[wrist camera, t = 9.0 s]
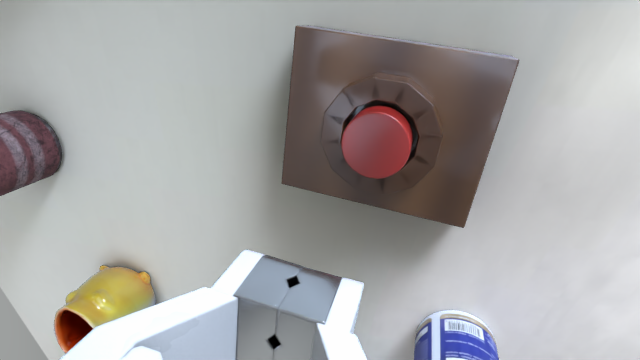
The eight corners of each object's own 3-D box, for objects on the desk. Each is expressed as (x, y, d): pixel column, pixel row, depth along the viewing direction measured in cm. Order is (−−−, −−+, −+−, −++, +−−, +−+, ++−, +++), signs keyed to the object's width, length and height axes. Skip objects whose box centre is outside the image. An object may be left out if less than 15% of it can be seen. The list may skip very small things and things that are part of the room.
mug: (96, 254, 37) (31, 298, 31) (156, 267, 35) (100, 316, 30) (118, 346, 42) (66, 399, 36) (172, 361, 40) (127, 420, 34)
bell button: (419, 111, 20) (418, 119, 18) (404, 174, 22) (402, 186, 20) (353, 99, 21) (346, 105, 19) (343, 160, 22) (336, 170, 21)
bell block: (512, 55, 21) (527, 63, 17) (462, 212, 25) (465, 243, 22) (307, 25, 23) (283, 26, 20) (292, 172, 28) (270, 194, 24)
